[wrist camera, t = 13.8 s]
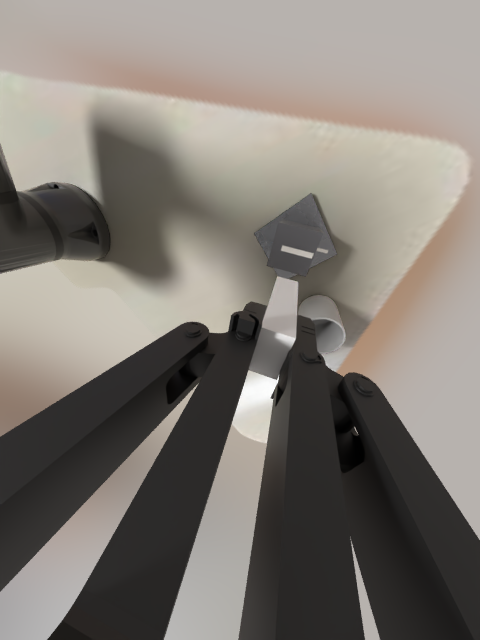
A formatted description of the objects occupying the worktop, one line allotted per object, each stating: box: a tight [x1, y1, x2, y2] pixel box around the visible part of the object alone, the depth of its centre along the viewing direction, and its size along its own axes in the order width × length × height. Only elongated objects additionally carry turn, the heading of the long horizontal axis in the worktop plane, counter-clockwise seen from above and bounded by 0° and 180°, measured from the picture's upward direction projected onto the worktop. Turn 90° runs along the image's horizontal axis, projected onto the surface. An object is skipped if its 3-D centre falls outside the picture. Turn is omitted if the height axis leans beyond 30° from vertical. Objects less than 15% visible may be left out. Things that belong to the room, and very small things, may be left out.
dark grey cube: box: [267, 219, 323, 276], centre depth 28 cm, size 6×6×6 cm
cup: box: [298, 295, 346, 354], centre depth 34 cm, size 7×10×9 cm
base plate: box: [254, 193, 337, 279], centre depth 30 cm, size 10×10×4 cm
